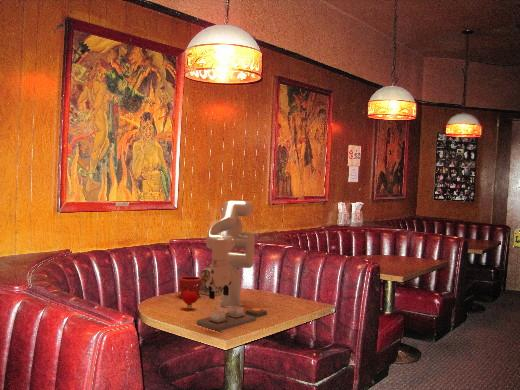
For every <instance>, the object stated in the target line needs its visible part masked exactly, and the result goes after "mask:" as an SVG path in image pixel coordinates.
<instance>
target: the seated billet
mask: <svg viewBox="0 0 520 390" xmlns="http://www.w3.org/2000/svg"><path fill="white" fill-rule="evenodd" d="M228 312H229V317H231V318H234V319H238V318H242V317H243V314H244V307H243V306H242V307H240V306H234V307H229V310H228Z"/></svg>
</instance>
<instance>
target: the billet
mask: <svg viewBox="0 0 520 390" xmlns="http://www.w3.org/2000/svg"><path fill="white" fill-rule="evenodd" d="M225 313H226V311H222V310H213V311H211V312H210V317H211V322H212V323H215V324H220V323H224V322H225Z"/></svg>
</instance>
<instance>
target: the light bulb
mask: <svg viewBox="0 0 520 390" xmlns="http://www.w3.org/2000/svg"><path fill="white" fill-rule="evenodd" d="M181 298H182V299H181V300H182V301H183V302H184V303H185V304H186V308H187V309H188V310H191V309H192V308H193V304H194V303H196V302H197V301H198V298H199V297H198V296H197V293H196V292H194V291H193V292H190V291H184V292H183V294H182V297H181Z"/></svg>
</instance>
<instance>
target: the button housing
mask: <svg viewBox="0 0 520 390" xmlns="http://www.w3.org/2000/svg"><path fill="white" fill-rule="evenodd" d="M250 309H251V308H250ZM250 309H247V310H245V314H247V315H250V316H254V317H256V318H260V317H263V316H266V315H268V314H267V313H268V311H267V310H265V309H262V311H260V312H253V311H250Z"/></svg>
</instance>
